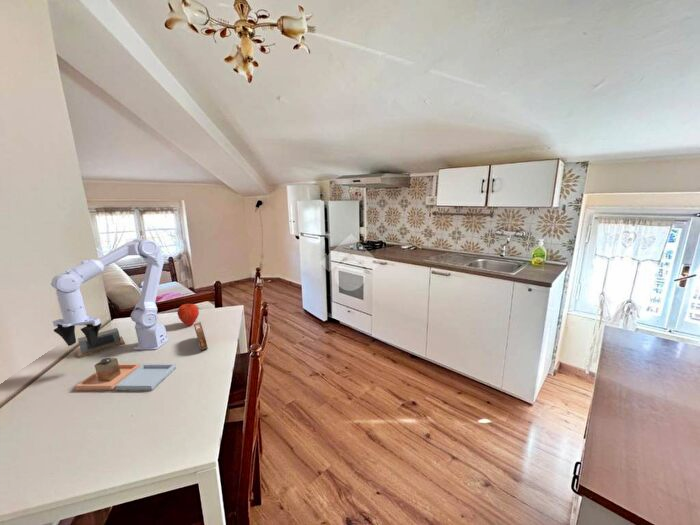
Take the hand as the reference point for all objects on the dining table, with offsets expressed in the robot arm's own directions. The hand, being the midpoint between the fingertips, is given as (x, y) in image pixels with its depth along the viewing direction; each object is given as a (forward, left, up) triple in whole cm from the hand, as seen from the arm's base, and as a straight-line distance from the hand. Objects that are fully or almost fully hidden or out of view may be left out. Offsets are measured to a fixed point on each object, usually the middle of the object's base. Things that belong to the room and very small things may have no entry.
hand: (82, 344), depth 96 cm
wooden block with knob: (-13, +6, -9) cm, 17 cm away
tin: (-32, -17, -10) cm, 37 cm away
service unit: (+9, -15, -10) cm, 20 cm away
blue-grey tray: (-26, +5, -10) cm, 28 cm away
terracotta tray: (-13, +5, -10) cm, 17 cm away
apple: (-16, -35, -10) cm, 39 cm away
